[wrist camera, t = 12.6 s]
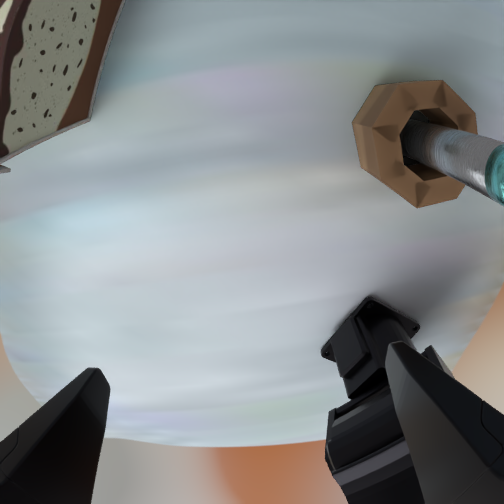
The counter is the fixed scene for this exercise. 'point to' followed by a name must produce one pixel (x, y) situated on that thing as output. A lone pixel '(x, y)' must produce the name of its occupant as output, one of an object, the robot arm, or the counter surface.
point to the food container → (50, 67)
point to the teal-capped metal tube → (457, 155)
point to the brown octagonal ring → (388, 140)
